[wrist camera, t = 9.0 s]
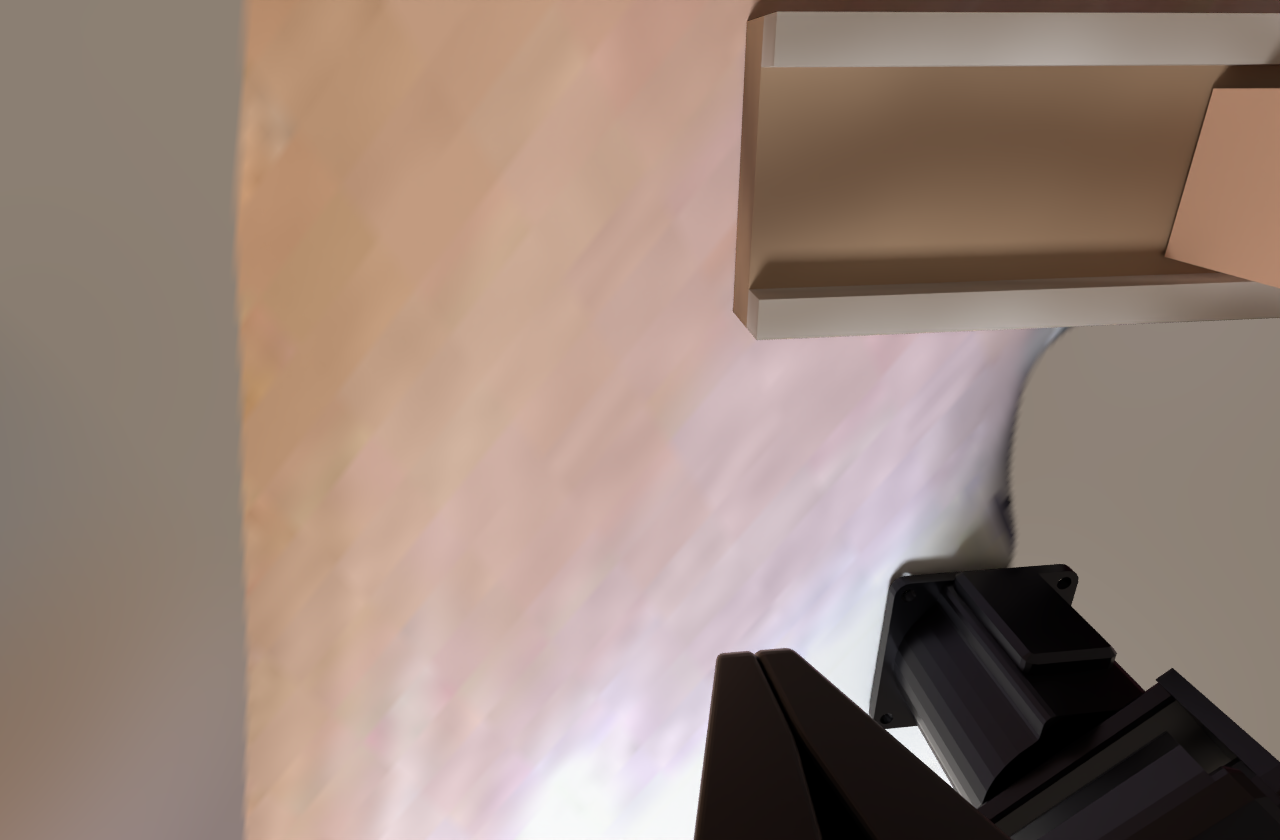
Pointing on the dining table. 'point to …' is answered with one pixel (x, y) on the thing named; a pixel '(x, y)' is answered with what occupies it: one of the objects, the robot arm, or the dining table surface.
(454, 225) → the dining table surface
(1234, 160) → the block
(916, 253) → the track
